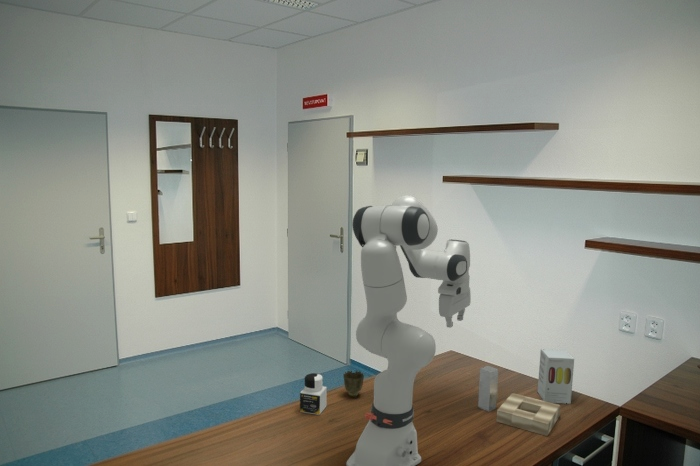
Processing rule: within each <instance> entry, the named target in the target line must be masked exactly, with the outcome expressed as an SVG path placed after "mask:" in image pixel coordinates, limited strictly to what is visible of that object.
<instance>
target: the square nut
mask: <svg viewBox="0 0 700 466" xmlns="http://www.w3.org/2000/svg"><path fill="white" fill-rule="evenodd" d="M560 412H561V405H560V404H559V403H550V402H546V401H543V399H542V400H541V399H537V398H533V397H529V396H525V395H522V394H518V393H513V392H512V393H510V395H509V396H508V397H507V398H506V400H504V402H503V403H502V404H501V405H500V406H499V408H498V409H497V410H496V422H497V423H501V424H502V425H507V426H511V427H514V428H518V429H521V430H524V431H528V432H530V433H535V434H538V435H542V436H545V437H548V436H549V434H550V433H551V431H552V429H553V428H554V426H555V425H556V422H557V421H558V420H559V418H560V415H561V414H560Z"/></svg>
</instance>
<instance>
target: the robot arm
mask: <svg viewBox="0 0 700 466" xmlns="http://www.w3.org/2000/svg"><path fill="white" fill-rule="evenodd" d="M351 223H352V231H353V234H354V237H355V238H356V240H357V241H358V244H359V245H360V247H361V251H360V267H361V279H362V282H363V283H362V284H363V288H364V293H365V294H364V295H365V300H366V314H365V316H364V317H363V318H362V319H361V320H360V321H359V323H358V324H357V327H356V329H355V330H356V331H355V338H356V342H357V344H359V346H360V347H362V348H363V349H364V350H366V351H368V352H369V353H371V354H373V355H376V356H379V357H382V358H384V359H387V368H386V369H384V370H382V371H380V372H379V373H378V374H377V375H376V376H375V378H374V381H373V402H372V405H371V407H370V411H366V412H365V414H364V415H365V417H364V419H365V420H369V421H368V422H367V423H366V426H365V427H364V429H363V431H362V433H361V434H360V437H359V438H358V440H357V442H356V444H355V445H356V446H355V450H354V451H353V453H352V454H351V455H350V457H348V459H347V460H346V463H345V465H346V466H416V465H418V464H420V463H421V462H422V456H421V455H420V453H419V452H418V451H419V449H418V433H417V429H416V427H415V425H414V423H413V420H414V415H415V414H414V413H415V411H414V405H413V394H414V393H413V392H414V391H413V390H414V383H415V380H416V376H417V375H418V373H419V372H420V371H421V369H422V370H423V368H425V367H427V366H428V365H429V364H431V362H432V361H433V359H434V357H435V355H436V352H437V351H436V349H437V347H436V340H435V338H434V336H433V335H432V334H431V333H429V332H427V330H424V329H422V328H421V327H419V326H416V325H412V324H409V323H405V322H402V321H400V320H399V319H398V316H397V314H398V313H399V312H400V311H402V310H403V309H404V307H405V306H406V304H407V302H408V295H407V290H406V284H405V278H404V273H403V268H402V264H401V260H400V256H399V253H398V252H397V247H398V246H399V247H400V249H401V251H402V253H403V255H404V257H405V259H406V261H407V262H408V263H407V264H408V268H409V270H410V272H411V274H412V275H413V277H415V278H419V279H429V280H430V279H431V280H438V281H442V283H441V284H440V286H438V288H437V289H438V290H437V293H438V294H439V297H438V314H439V316H440V317H442V318H443V317H444V319H445V322H446V325H445V326H446V328H449V329H450V328H452V327H453V325H454V322H453V320H452V319H453V316H454V315H455V314H457V316H456V320H457V321H460V322H462V321H463V320H464V315H465V312H466V308H468V307H469V306H471V288H470V280H471V279H470V271H469V270H470V267H471V251H470V250H471V248H470V244H469V242H468V241H466V240H460V239H448V240H446V244H445V250H443V251H440V250H433V249H427V248H428V247H430V246H431V245H432V244H433V243H434V241H435V240H436V238H437V235H438V231H439V228H438V225H437V224H438V223H437V221H436V220H435V218H434V216H433V215H432V214H431V212H430V211H429V209H428V208H427V207H426V206H425V205H424V204H423V203H422V202H421V201H420V200H419V199H418V198H416V197H414V196H412V195H410V194H408V195H407V194H405V195H401V196H399V197H397V198H396V199H395V200H394V201H393V202H392V203H391V204H385V205H384V204H383V205H375V206H373V205H366V206H363V207H361V208H359V209H358V210H356V212H355V214H354V215H353V218H352V222H351Z"/></svg>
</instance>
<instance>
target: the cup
mask: <svg viewBox="0 0 700 466" xmlns="http://www.w3.org/2000/svg"><path fill="white" fill-rule="evenodd" d="M364 377H365V374H364V373H363V372H361V371H360V370H359V371H358V370H355V372H353V371H352V370H347V371H345V372H344V373H343V383H344V384H343V385H344V388H345V390H346V391H347V392H348V393H347V394H348V396H349V397H351V398H352V397H353V398H355V397H357V396H358V395H359V394H360V393H359V392H360V391H361V390H362V388H363V385H364Z"/></svg>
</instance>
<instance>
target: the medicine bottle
mask: <svg viewBox="0 0 700 466" xmlns="http://www.w3.org/2000/svg"><path fill="white" fill-rule="evenodd" d="M323 380H324V378H323V375H321V374H320V373H315V372H314V373H308V374H306V375H305V376H304V388H303V389H302V390H301V391H300V392H299V412H300V413H304V414H311V415H318V416H320V415H321V414H322V412H323V411H324V410H325V408H327V404H328V403H327V401H328V400H327V399H328V398H327V397H328V395H327V393H328V391H327V388H328V387H327V386H324V385H323Z"/></svg>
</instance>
